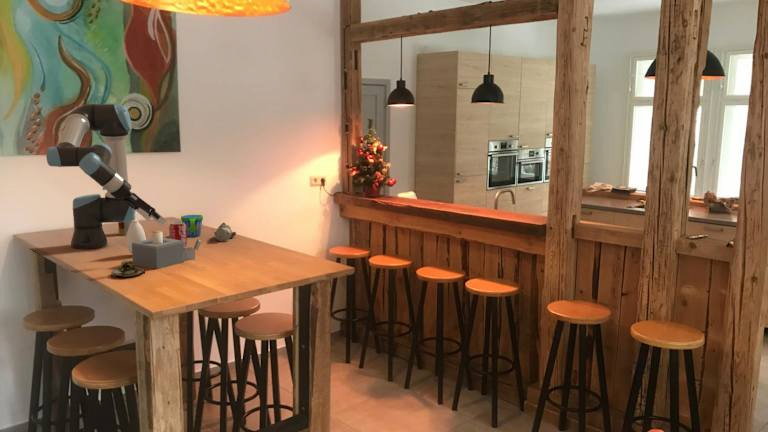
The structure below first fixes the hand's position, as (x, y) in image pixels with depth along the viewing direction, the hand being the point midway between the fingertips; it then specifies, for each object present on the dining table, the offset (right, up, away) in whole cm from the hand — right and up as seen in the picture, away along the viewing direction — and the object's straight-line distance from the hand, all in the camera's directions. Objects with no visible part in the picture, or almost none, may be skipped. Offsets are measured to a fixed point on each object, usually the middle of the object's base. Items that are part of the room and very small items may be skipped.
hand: (157, 220), depth 245 cm
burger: (-5, -21, -15) cm, 26 cm away
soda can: (0, -14, +25) cm, 29 cm away
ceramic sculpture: (+13, -10, +53) cm, 56 cm away
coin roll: (0, -16, +3) cm, 17 cm away
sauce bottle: (-15, -15, +16) cm, 27 cm away
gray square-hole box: (0, -17, +3) cm, 18 cm away
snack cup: (-4, -8, +60) cm, 61 cm away
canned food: (-38, -7, +62) cm, 74 cm away
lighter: (+11, -17, +11) cm, 23 cm away
